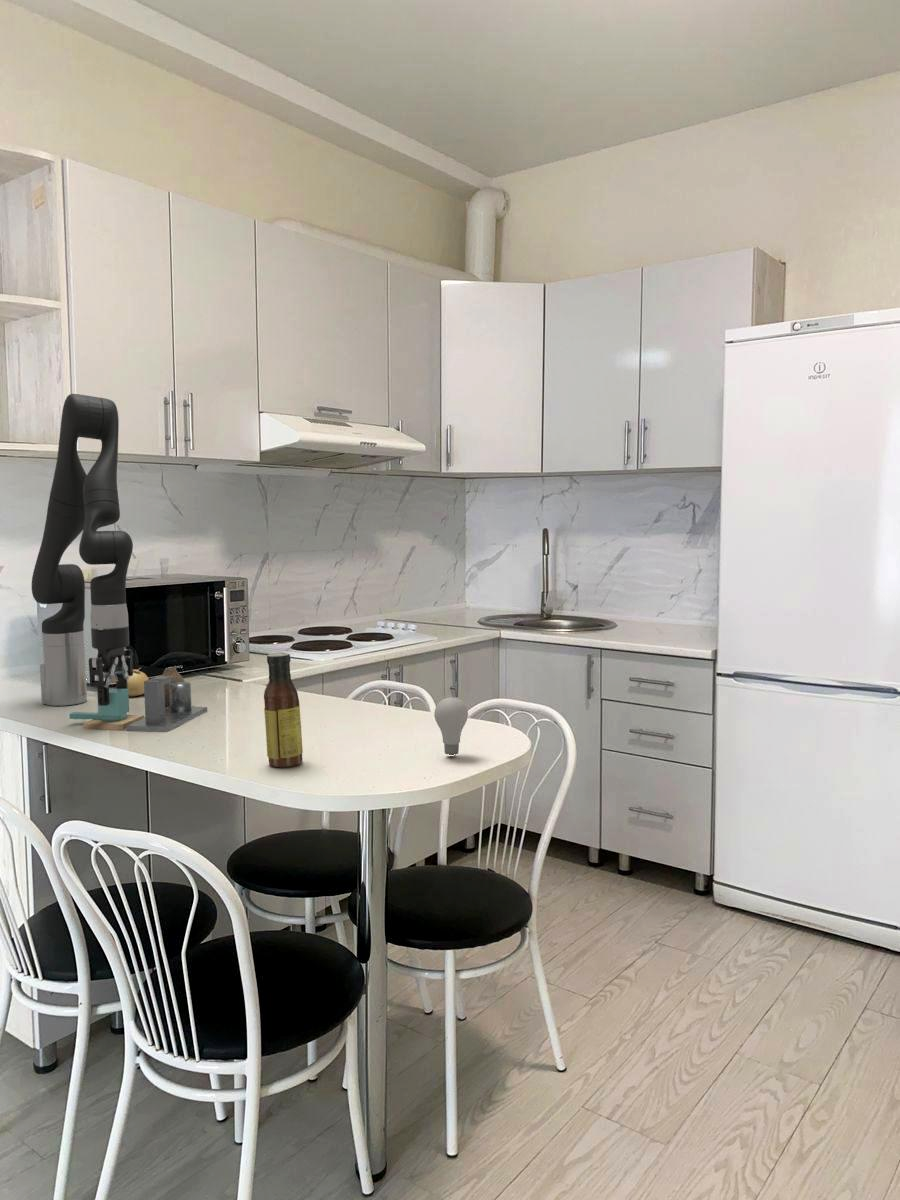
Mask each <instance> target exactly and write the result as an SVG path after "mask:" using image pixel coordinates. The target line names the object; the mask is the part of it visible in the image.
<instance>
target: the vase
mask: <svg viewBox="0 0 900 1200" xmlns="http://www.w3.org/2000/svg"><path fill="white" fill-rule="evenodd" d="M161 676H171V677H172V682H170V683H167V684H165V685H164V692H165V707H169V706H170V693H169V684H171V683H175V682H186V681H185V679H184V677H182V675H181V674H180V673H179V672H178V671H177V668H176V667H165V669H164V671H163V673H162V674H161Z"/></svg>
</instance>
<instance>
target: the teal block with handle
mask: <svg viewBox="0 0 900 1200" xmlns="http://www.w3.org/2000/svg"><path fill="white" fill-rule="evenodd" d="M108 688H109V701H110V704H109V705H107V706H100V705H99V704H98V703H97V712H89V711H87V712H84V711H80V712H79V711H74V712H70V713H69V714H68V715H69V717H68V718H69V720H93V719H96V720H101V721H104V722H116V721H122V720H125V719H127V715H128V713H129V712H130V697H129V693H128V689H117V688H110V687H108ZM96 694H97V696H96V697H97V699H98V691H97V693H96Z"/></svg>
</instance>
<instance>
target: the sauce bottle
mask: <svg viewBox="0 0 900 1200" xmlns="http://www.w3.org/2000/svg"><path fill="white" fill-rule="evenodd" d="M266 662H267V664H268V683H267V685H266V687H265V688H264V692H263V699H264V700H263V701H264V703H263V704H264V709H263V710H264V711H263V712H264V721H265V723H264V725H265V736H266V737H265V740H266V753H267V754H266V756H267V758H268V764H269V765H270V766H271V767H275V768H280V767H282V768H291V767H297V766H298V765H300V764H302V763H303V752H304V751H303V750H304V749H303V748H304V747H303V735H302V734H303V733H302V724H301V723H302V721H301V709H300V708H301V706H300V699H299V694H298V691H297V688H296V687H295V685H294V682H293V680H292V678H291V676H292V675H291V665H290V663H291V654H290V653H288V652H273V653H270V654H267V655H266Z"/></svg>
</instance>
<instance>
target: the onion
mask: <svg viewBox="0 0 900 1200" xmlns="http://www.w3.org/2000/svg"><path fill="white" fill-rule="evenodd" d="M140 669H141V667H140V668H138V669H134V668H133V675H132V676H129V680H128V681H127V687H128V693H129V698H131V697H136V696H141V695H144V681H146V680H149V679H150V678H149V677H148V676H147V675H146V673H145V672H143V671H140ZM116 681H118V680H116ZM115 689H117V687H116V688H115Z"/></svg>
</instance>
